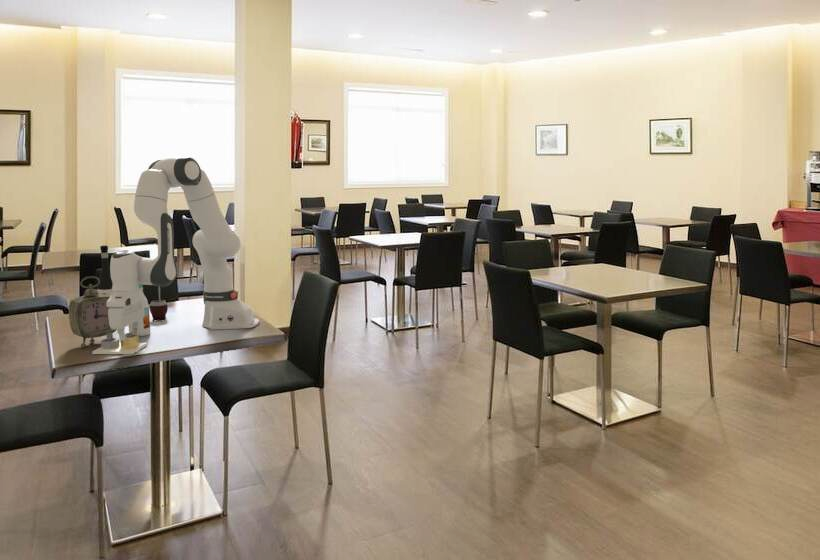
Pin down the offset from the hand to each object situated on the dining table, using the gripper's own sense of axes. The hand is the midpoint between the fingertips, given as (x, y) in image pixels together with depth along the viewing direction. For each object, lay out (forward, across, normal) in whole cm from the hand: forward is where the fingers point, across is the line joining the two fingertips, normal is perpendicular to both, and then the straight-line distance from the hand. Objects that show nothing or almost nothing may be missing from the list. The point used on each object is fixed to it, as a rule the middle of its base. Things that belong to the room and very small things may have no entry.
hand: (129, 336), depth 245 cm
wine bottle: (+5, -60, -36) cm, 70 cm away
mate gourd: (+5, -49, -10) cm, 50 cm away
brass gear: (+4, 0, 0) cm, 4 cm away
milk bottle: (+5, -23, -6) cm, 24 cm away
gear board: (+5, 0, -4) cm, 6 cm away
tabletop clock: (+5, -8, -17) cm, 20 cm away
